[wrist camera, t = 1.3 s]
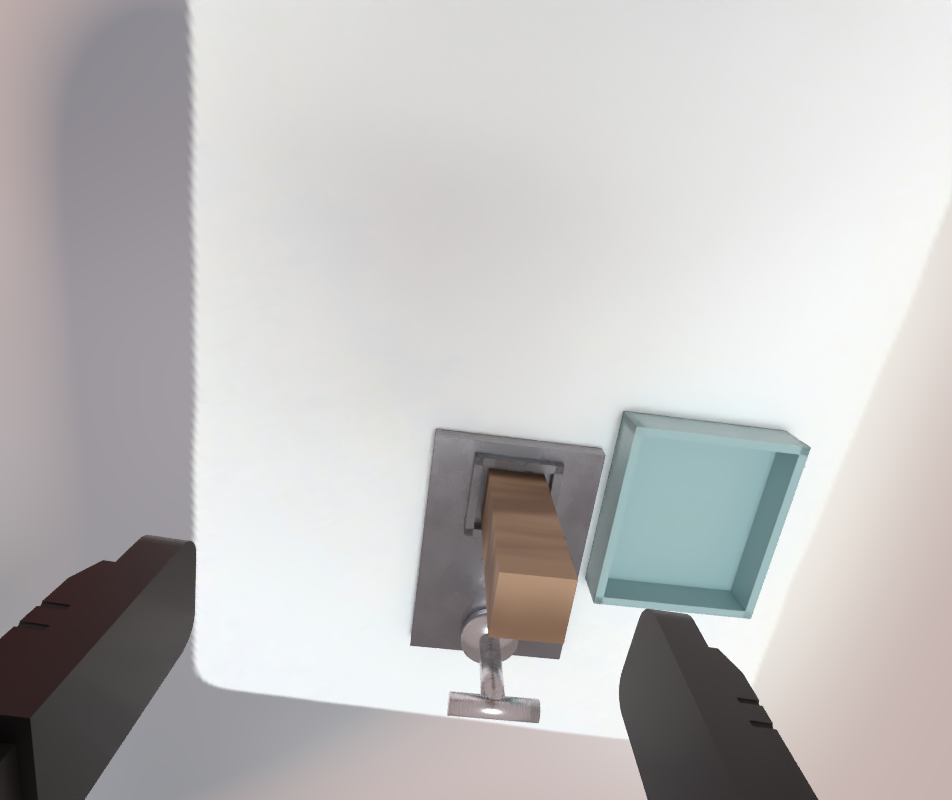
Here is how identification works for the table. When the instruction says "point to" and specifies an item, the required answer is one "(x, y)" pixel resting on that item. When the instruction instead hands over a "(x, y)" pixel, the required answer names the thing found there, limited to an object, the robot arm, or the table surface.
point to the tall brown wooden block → (525, 560)
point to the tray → (692, 514)
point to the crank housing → (461, 554)
